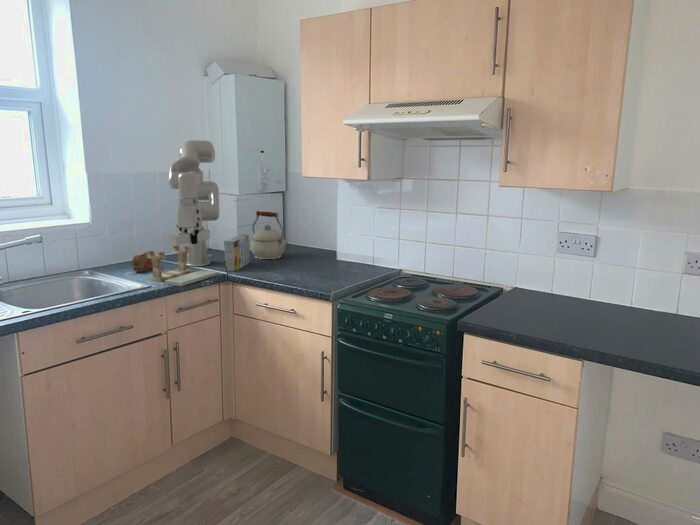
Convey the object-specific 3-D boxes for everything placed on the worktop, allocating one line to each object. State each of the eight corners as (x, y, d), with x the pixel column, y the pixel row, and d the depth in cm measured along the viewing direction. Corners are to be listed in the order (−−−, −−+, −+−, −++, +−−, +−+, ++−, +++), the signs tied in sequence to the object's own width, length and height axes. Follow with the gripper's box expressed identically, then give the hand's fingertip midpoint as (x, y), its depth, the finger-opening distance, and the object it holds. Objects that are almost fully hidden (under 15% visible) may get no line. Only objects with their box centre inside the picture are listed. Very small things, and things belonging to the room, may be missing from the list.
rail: (202, 238, 250) (202, 229, 250) (209, 238, 249) (209, 229, 248) (169, 244, 231) (168, 235, 230) (176, 245, 229) (175, 235, 228)
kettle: (241, 257, 294) (240, 211, 289) (265, 252, 309) (264, 209, 304) (276, 263, 280) (275, 215, 275) (299, 257, 295) (298, 212, 290)
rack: (179, 271, 259) (178, 244, 256) (191, 273, 256) (189, 245, 253) (148, 280, 241) (146, 251, 238) (160, 281, 238) (158, 252, 235)
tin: (137, 273, 254) (136, 256, 252) (131, 273, 254) (130, 255, 253) (155, 267, 268) (154, 250, 267) (149, 267, 269) (148, 250, 267)
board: (201, 273, 256) (201, 270, 256) (217, 275, 252) (217, 271, 252) (165, 284, 234) (165, 280, 234) (181, 286, 231) (181, 282, 231)
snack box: (240, 262, 281) (239, 234, 278) (250, 263, 280) (249, 234, 277) (224, 271, 260) (223, 240, 257) (235, 272, 259) (234, 240, 256)
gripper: (209, 202, 236) (211, 243, 240) (179, 200, 243) (181, 241, 247) (198, 203, 230) (200, 246, 233) (167, 201, 236) (169, 243, 240)
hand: (190, 243), depth 240 cm, fingers closed on rail, 4 cm apart
